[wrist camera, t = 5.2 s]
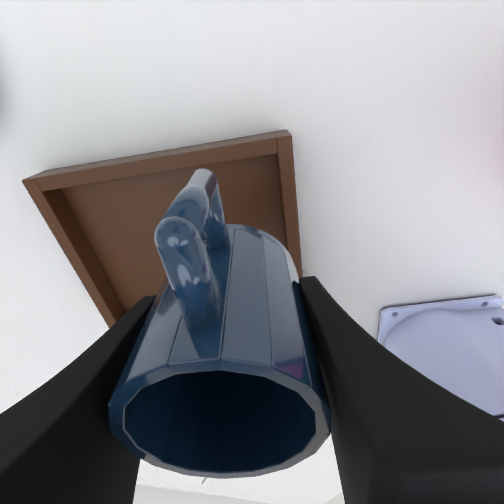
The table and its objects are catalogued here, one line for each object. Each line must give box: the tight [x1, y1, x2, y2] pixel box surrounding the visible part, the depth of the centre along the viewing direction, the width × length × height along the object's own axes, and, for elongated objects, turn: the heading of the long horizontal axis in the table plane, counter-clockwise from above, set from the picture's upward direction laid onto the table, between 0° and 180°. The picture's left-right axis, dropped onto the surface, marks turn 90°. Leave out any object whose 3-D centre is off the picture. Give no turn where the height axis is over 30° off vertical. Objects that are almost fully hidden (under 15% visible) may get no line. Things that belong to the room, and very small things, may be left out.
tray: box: [22, 130, 302, 328], centre depth 19 cm, size 15×13×2 cm
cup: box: [108, 169, 331, 479], centre depth 9 cm, size 8×6×6 cm
